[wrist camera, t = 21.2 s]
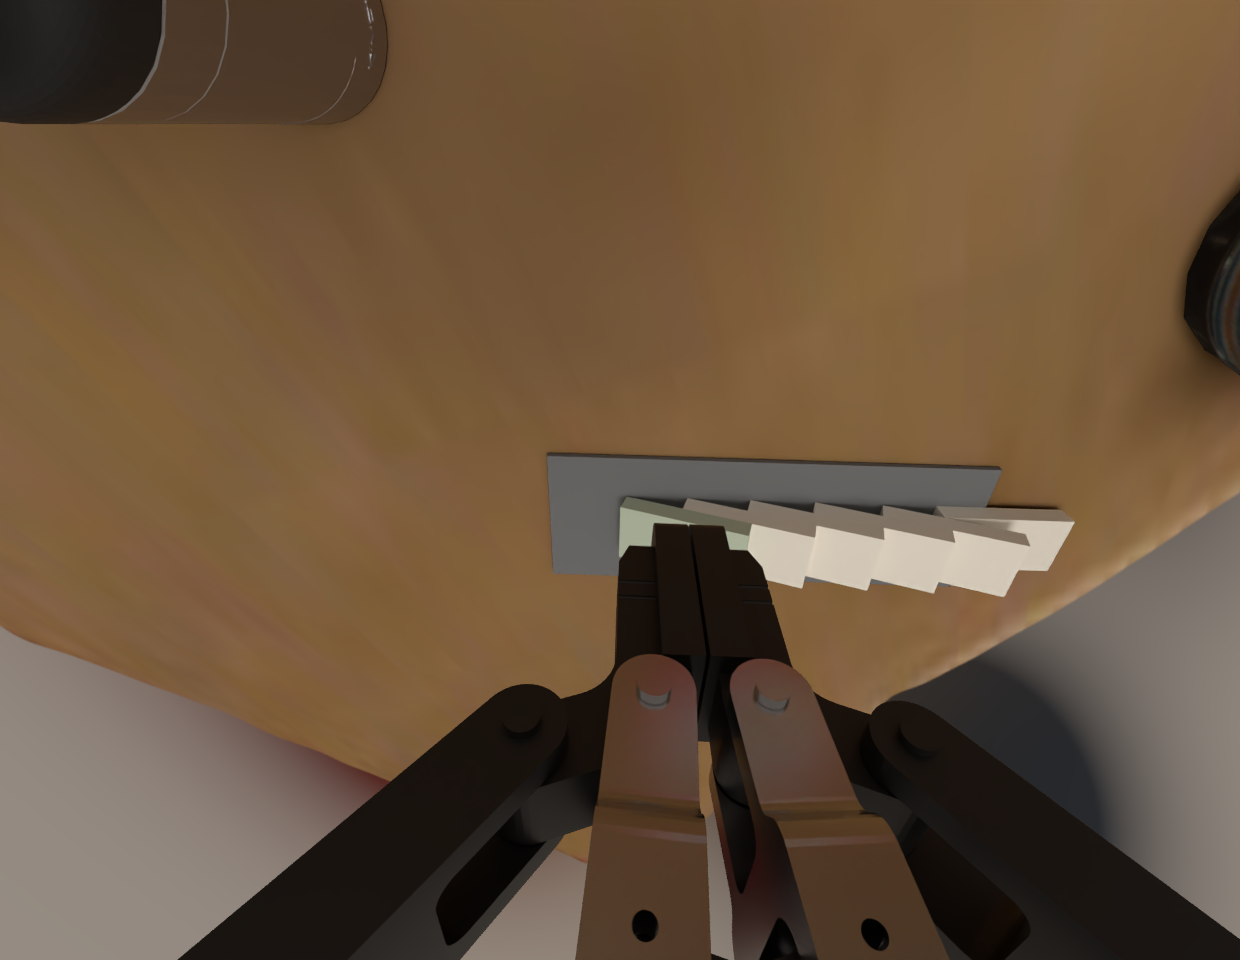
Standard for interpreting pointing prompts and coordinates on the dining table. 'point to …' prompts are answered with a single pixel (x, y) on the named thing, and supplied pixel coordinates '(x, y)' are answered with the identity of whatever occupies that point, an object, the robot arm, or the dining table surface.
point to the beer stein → (1217, 288)
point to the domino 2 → (770, 541)
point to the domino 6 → (1020, 528)
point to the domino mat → (733, 494)
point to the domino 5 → (974, 552)
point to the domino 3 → (835, 545)
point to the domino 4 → (903, 548)
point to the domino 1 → (644, 514)
